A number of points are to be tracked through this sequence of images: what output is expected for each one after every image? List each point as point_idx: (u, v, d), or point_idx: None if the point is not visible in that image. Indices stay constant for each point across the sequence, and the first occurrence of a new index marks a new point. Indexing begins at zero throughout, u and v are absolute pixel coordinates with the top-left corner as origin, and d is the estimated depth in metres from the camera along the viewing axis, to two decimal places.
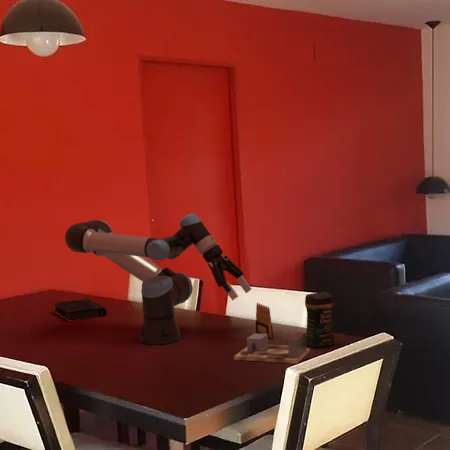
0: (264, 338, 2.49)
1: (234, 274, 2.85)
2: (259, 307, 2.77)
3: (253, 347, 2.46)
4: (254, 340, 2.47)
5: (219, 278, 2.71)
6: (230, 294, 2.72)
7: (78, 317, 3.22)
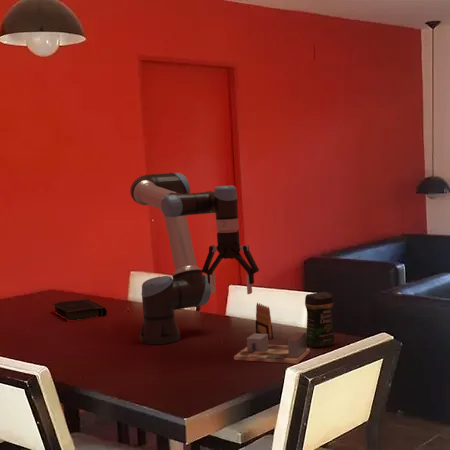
0: (264, 338, 2.49)
1: None
2: (259, 307, 2.77)
3: (253, 347, 2.46)
4: (254, 340, 2.47)
5: None
6: None
7: (78, 317, 3.22)
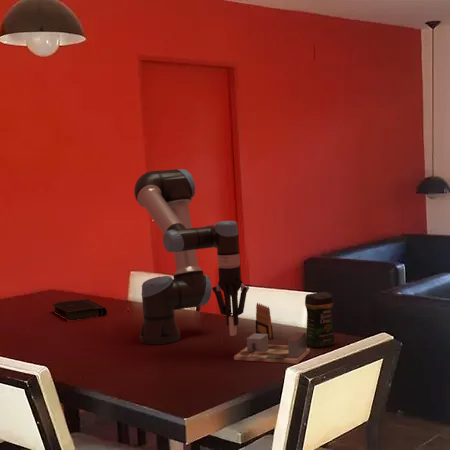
0: (264, 338, 2.49)
1: None
2: (259, 307, 2.77)
3: (253, 347, 2.46)
4: (254, 340, 2.47)
5: None
6: None
7: (78, 317, 3.22)
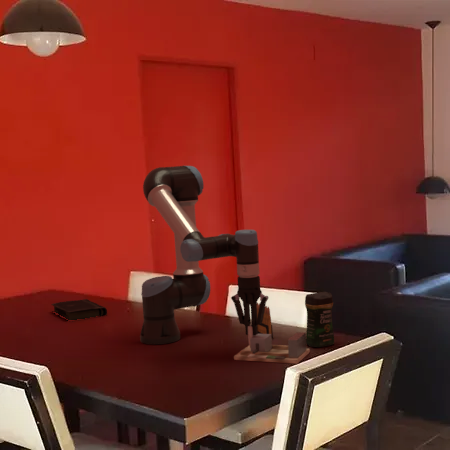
0: (268, 338, 2.48)
1: None
2: None
3: (257, 347, 2.46)
4: (258, 340, 2.46)
5: None
6: None
7: (79, 317, 3.22)
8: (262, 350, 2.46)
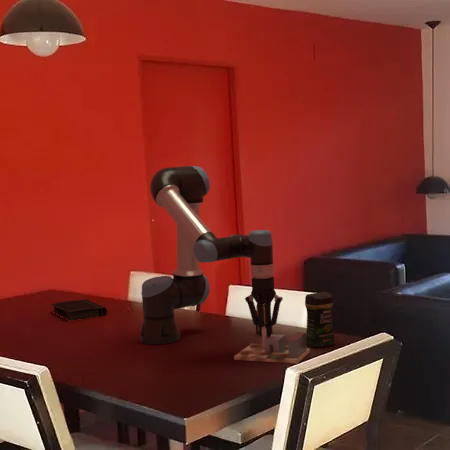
0: (281, 339, 2.47)
1: None
2: None
3: (271, 348, 2.44)
4: (272, 341, 2.44)
5: None
6: None
7: (79, 317, 3.22)
8: (276, 351, 2.44)
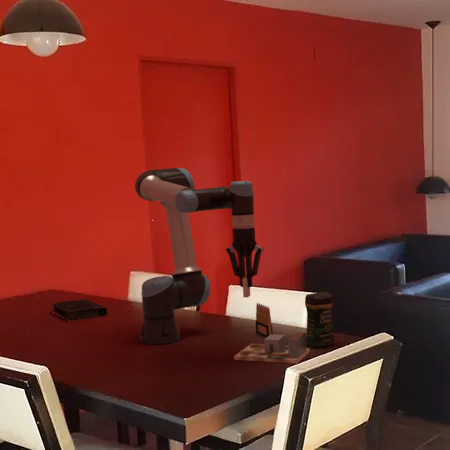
0: (281, 339, 2.47)
1: None
2: (259, 307, 2.77)
3: (271, 348, 2.44)
4: (272, 341, 2.44)
5: None
6: None
7: (79, 317, 3.22)
8: (276, 351, 2.44)
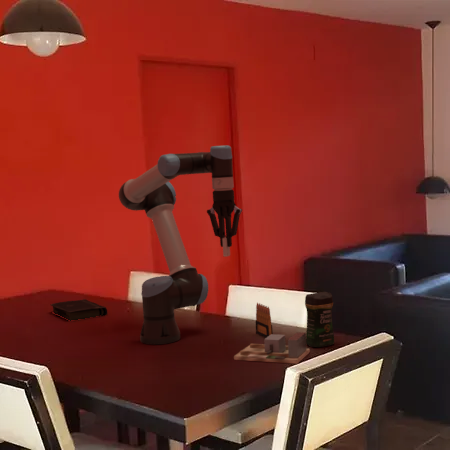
0: (281, 339, 2.47)
1: None
2: (259, 307, 2.77)
3: (271, 348, 2.44)
4: (272, 341, 2.44)
5: None
6: None
7: (79, 317, 3.22)
8: (276, 351, 2.44)
